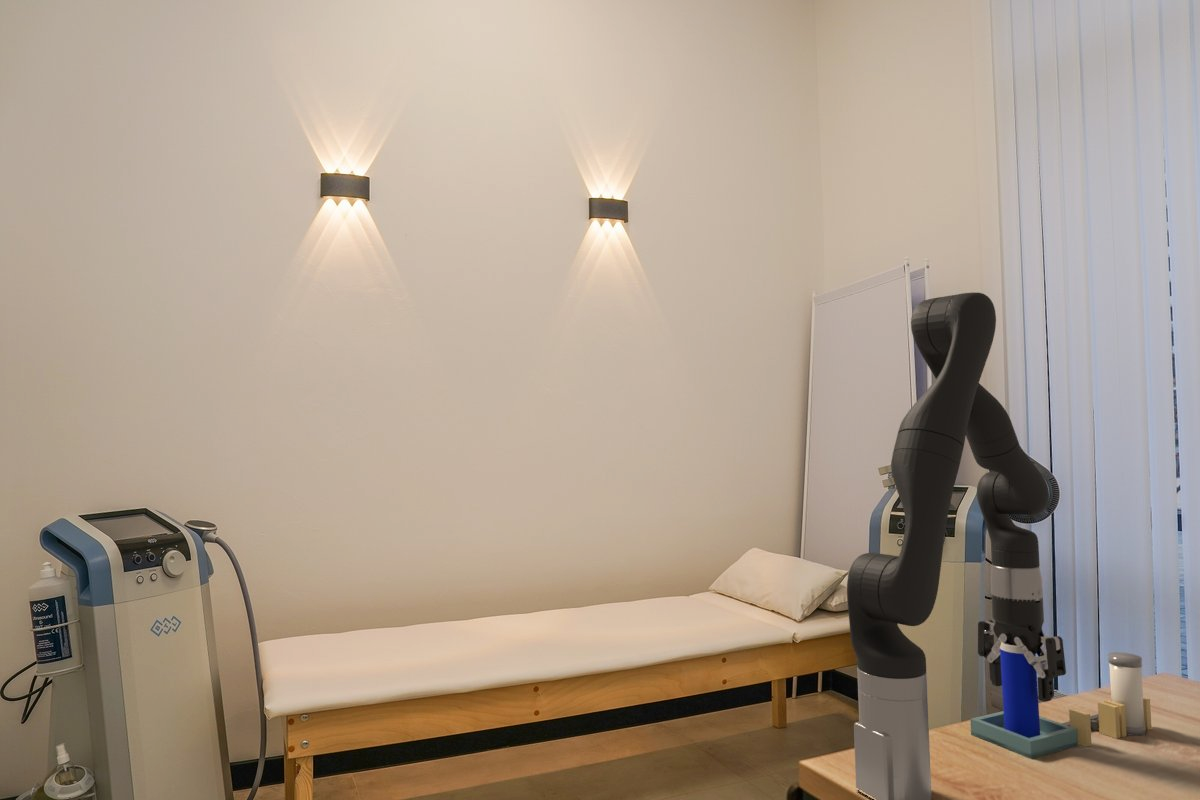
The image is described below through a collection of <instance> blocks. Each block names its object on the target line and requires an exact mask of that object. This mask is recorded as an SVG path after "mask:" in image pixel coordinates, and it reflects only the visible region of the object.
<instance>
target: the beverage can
mask: <svg viewBox="0 0 1200 800" xmlns="http://www.w3.org/2000/svg"><path fill="white" fill-rule="evenodd" d="M1036 655H1037V653H1036V654H1035V655H1034V656H1035V657H1037V656H1036ZM1000 658H1001V676H1002V686H1001V689H1002V690H1001V691H1002V692H1001V693H1002V708H1003V710H1002V711H1004V729H1006V730H1009V731H1011V732H1014V733H1017V734H1019V735H1022V736H1025V737H1027V738H1031V737H1035V736H1039V735H1040V721H1039V716H1040V710H1039V709H1040V707H1039V698H1038V673H1037V672H1036V670H1035V668H1034V667H1033V666H1032V665H1030V664H1029V663H1028V661H1027V659H1026V658H1025V656H1024V654H1023V651H1022V649H1021V648H1020V647H1017V646H1015V645H1009V644H1008V643H1006V644H1005V643H1001V646H1000Z"/></svg>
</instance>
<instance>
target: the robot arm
mask: <svg viewBox="0 0 1200 800" xmlns="http://www.w3.org/2000/svg"><path fill="white" fill-rule="evenodd" d="M994 305H995V304H994V302H993V301H992V299H991V297H989V296H988V295H986V294H985V293H982V292H965V293H964V292H963V293H958V294H952V295H946V296H938V297H932V298H929V299H926V300H922V301H920V302H919V303H918V304H917V305H916V306H915V307H914V309H913V311H912V314H911V318H910V329H911V333H912V337H913V340H914V343H915V345H916V347H917V349H918V351H919V352H920V354H921V357H922V358H923V360H924V361H925V364H926V365H927V367H928V368H929V369H930V371H931V374H933V377H934V379H935V380H934V381H933V383H932V384H931V385H930V386H929V388H928V389H927V390H925V392H924V393H923V394H922V395H920V397H919V398H918V400H917V401H916V402H915V403H914V404H913V405H912V407H911V408H909V410H908V411H907V413H906V414H905V416H904V417H903V419H902V421H901V423H900V425H899V428H898V431H897V434H896V435H897V436H896V440H895V444H894V447H893V451H892V454H891V455H892V457H891V462H890V466H891V467H890V470H891V473H892V474H891V475H892V478H893V482H894V486H895V489H896V492H897V493H898V494H897V495H898V497H899V500H900V502H901V504H902V509H903V514H904V521H905V522H904V523H905V524H904V533H903V539H902V544H901V549H900V553H899V555H893V554H885V553H878V552H876V553H875V552H866V553H865V552H864V553H863V554H860V555H859V556H857V557H856V558H855V559H854V561H853V562H852V564H851V566H850V569H849V571H848V575H847V582H846V598H847V608H848V609H847V610H848V611H847V612H848V613H847V614H848V621H849V622H848V623H849V634H850V642H851V646H852V649H853V651H854V654H855V656H856V664H857V666H856V668H857V669H856V671H857V697H858V721H856V722H854V724H853V738H854V739H853V742H854V767H855V789H856V788H858V789H859V790H862V791H863V792H865V793H866V794H868V795H870V796H872V797H873V798H875V799H876V800H932V796H933V794H932V775H931V754H930V750H931V749H930V748H931V747H930V730H929V728H930V727H929V723H930V722H929V704H928V681H927V680H928V678H927V677H928V676H927V657H926V653H925V652H924V650H923V649H922V647H920V646H918V644H916V643H914V642H913V641H912V640H911V639H910V638H908V637H907V636H906V635H905V634H904V633H903V631H902V630H901V628H900V627H899V625H903V626H908V627H916V626H920V625H922V624H924V623H925V622H926V621H927V620H928V619H929V617H930V616H931V613H932V612H933V609H934V607H935V604H936V600H937V597H938V596H937V595H938V591H939V585H940V577H941V569H942V568H941V567H942V562H943V561H942V560H943V551H944V542H945V534H946V527H947V522H948V517H949V512H950V507H951V503H952V502H951V501H952V497H953V493H954V488H955V485H956V484H955V483H956V479H957V476H958V474H959V473H958V472H959V469H960V464H961V461H962V455H963V451H964V448H965V441H966V440H967V442H968V445H969V447H970V450H971V452H972V455H973V458H974V460H975V462H976V463H977V465H978V466H979V467H981V468H983V469H985V470H989V471H988V472H986V473H985V474H983V475H982V476H981V477H980V479H979V480H978V484H977V487H976V499H977V502H978V506H979V510H980V512H981V515H982V517H983V520H984V523H985V527H986V530H987V533H988V536H989V539H990V555H991V556H990V557H991V559H990V560H991V570H990V571H991V572H990V590H991V592H990V594H991V595H990V596H991V614H992V615H991V616H992V619H993V620H994V621H993V620H992V619H987V620H982V621H978V624H977V654H978V655H979V656H980V657H983V658H985V659H986V661H987V662H988V664H989V679H990V681H991V684H992V686H995V687H1002V676H1001V658H1000V646H1001V643H1005V644H1006V643H1008V644H1009V645H1015V646H1017V647H1020V648H1021V649H1022V651H1023V654H1024V656H1025V658H1026V659H1027V661H1028V663H1029V664H1030V665H1032V666H1033V667H1034V668H1035V670H1036V672H1037V687H1038V701H1041V702H1043V703H1046V702H1050V701H1052V699H1053V698H1054V696H1055V689H1054V688H1055V687H1054V686H1055V684H1054V683H1055V682H1054V678H1056V677H1057V678H1058V677H1061V676H1065V675H1066V673H1067V668H1066V659H1065V651H1064V639H1063V638H1062V637H1061V636H1059V635H1058V636H1049V635H1045V633H1044V631H1043V625H1044V622H1045V616H1044V615H1045V613H1044V611H1045V609H1044V595H1043V594H1044V593H1043V590H1044V589H1043V578H1042V574H1041V567H1040V565H1041V564H1040V548H1039V538H1038V536H1037V534H1036V533H1035V532H1034V531H1032V530H1029V529H1026V528H1023V527H1019V526H1017V525H1016V524H1015V522H1013V520H1012V518H1011V516H1010V515H1016V516H1017V515H1018V516H1037V515H1039V514H1041V513H1043V512H1044V511H1045V509H1046V508H1047V506H1048V504H1049V501H1050V491H1049V487H1048V484H1047V481H1046V480H1045V478H1044V477H1043V474H1042V473H1041V472H1040V471H1039V469H1038V467H1037V466H1036V465H1035V464H1034V463H1033V461H1032V460H1031V459H1030V457H1029V456H1028V454H1027V453H1026V451H1024V450H1023V448H1022V447H1021V445H1020V442H1019V440H1018V437H1017V433H1016V431H1015V427H1014V426H1013V423H1012V420H1011V418H1010V415H1009V414H1008V412H1007V410H1006V409H1005V407H1004V406H1003V405H1002V404H1001V402H1000V401H999V400H998V399H997V398H996V397H995V396H994V395H992V393H991V392H989V391H988V390H987V389H986V388H985V387H984V386H983V385H982V384H980V381H981V378H982V374H983V372H984V369H985V365H986V363H987V361H988V358H989V354H990V352H991V349H992V345H993V341H994V337H995V333H996V327H997V314H996V308H995V306H994ZM995 636H996V638H997V641H996V642H995ZM994 642H995V643H994ZM1035 654H1036V655H1037V656H1036V657H1035V656H1034V655H1035Z"/></svg>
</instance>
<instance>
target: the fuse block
mask: <svg viewBox="0 0 1200 800" xmlns="http://www.w3.org/2000/svg"><path fill="white" fill-rule="evenodd" d="M1143 705H1144V723H1145V728H1146V730H1147V731H1149V730H1152V712H1151V698H1149V697H1146V696H1143ZM1097 709H1098V710H1097V711H1098V714H1093V715H1091V713H1088V712H1085V711H1083V710H1079V709H1076V708H1070V709H1068V713H1069V717H1068V718H1069V721H1065V722H1061V724H1064V725H1067V726H1070V727H1073V728H1075V729H1077V730H1078V745H1080V746H1081V745H1082V746H1085V747H1091V746H1092V745H1093V743H1092V732H1093V731H1094V732H1097V731H1099V734H1102V735H1104V736H1107V737H1111V738H1113V739H1120V738H1121V737H1122V738H1124V737H1126V736H1127V735H1128V734H1126V715H1125V705H1123V704H1120V703H1117V702H1113V701H1111V700H1110V699H1107V700H1103V701H1102V700H1101V701H1098V702H1097Z"/></svg>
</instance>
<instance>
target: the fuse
mask: <svg viewBox="0 0 1200 800" xmlns="http://www.w3.org/2000/svg"><path fill="white" fill-rule="evenodd" d="M1107 656H1108V657H1107V658H1108V664H1109V665H1108V666H1109V682H1110V683H1109V684H1110V699H1111V700H1110V701H1113V702H1117V703H1120V704H1123V705H1125V715H1126V734H1127V735H1128V736H1129V735H1130V736H1144V735H1146V728H1145V723H1144V705H1143V697H1144V691H1143V690H1144V689H1143V672H1142V671H1143V670H1142V666H1143V658H1142V657H1141V656H1140V655H1137V654H1133V653H1127V652H1109V653H1108V654H1107Z"/></svg>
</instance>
